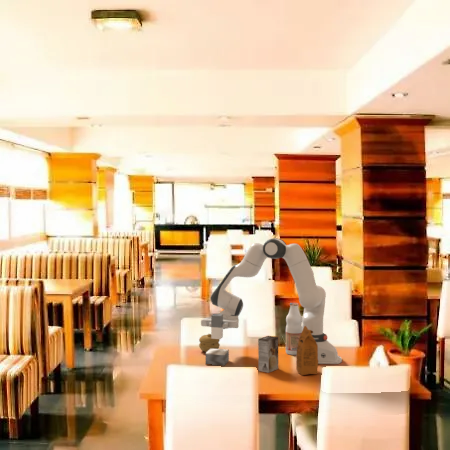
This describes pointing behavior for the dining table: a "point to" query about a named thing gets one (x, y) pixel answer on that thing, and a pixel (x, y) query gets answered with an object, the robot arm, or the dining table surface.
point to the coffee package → (307, 353)
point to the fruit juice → (293, 329)
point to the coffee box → (268, 354)
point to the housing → (216, 326)
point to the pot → (208, 343)
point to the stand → (217, 356)
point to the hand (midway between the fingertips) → (216, 325)
